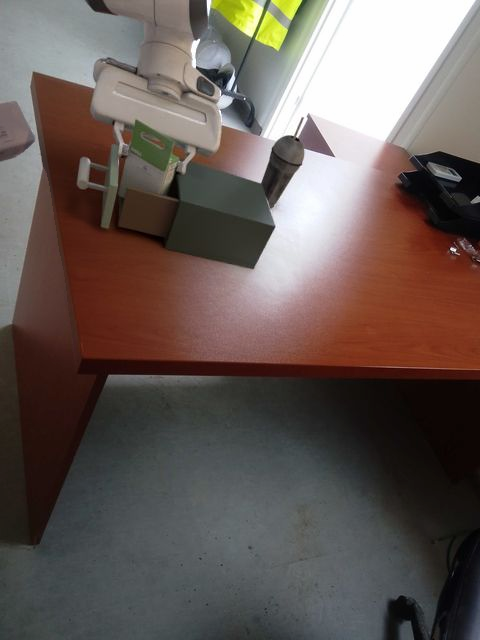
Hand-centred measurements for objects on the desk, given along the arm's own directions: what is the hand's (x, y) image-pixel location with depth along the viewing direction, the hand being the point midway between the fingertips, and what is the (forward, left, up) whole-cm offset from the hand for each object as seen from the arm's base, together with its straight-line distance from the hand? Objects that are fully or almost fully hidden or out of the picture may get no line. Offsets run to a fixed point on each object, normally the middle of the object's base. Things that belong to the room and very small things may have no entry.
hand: (151, 165), depth 73 cm
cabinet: (+13, +1, -11) cm, 17 cm away
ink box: (0, +1, -7) cm, 7 cm away
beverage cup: (+29, +20, -11) cm, 37 cm away
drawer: (0, +1, -10) cm, 10 cm away
